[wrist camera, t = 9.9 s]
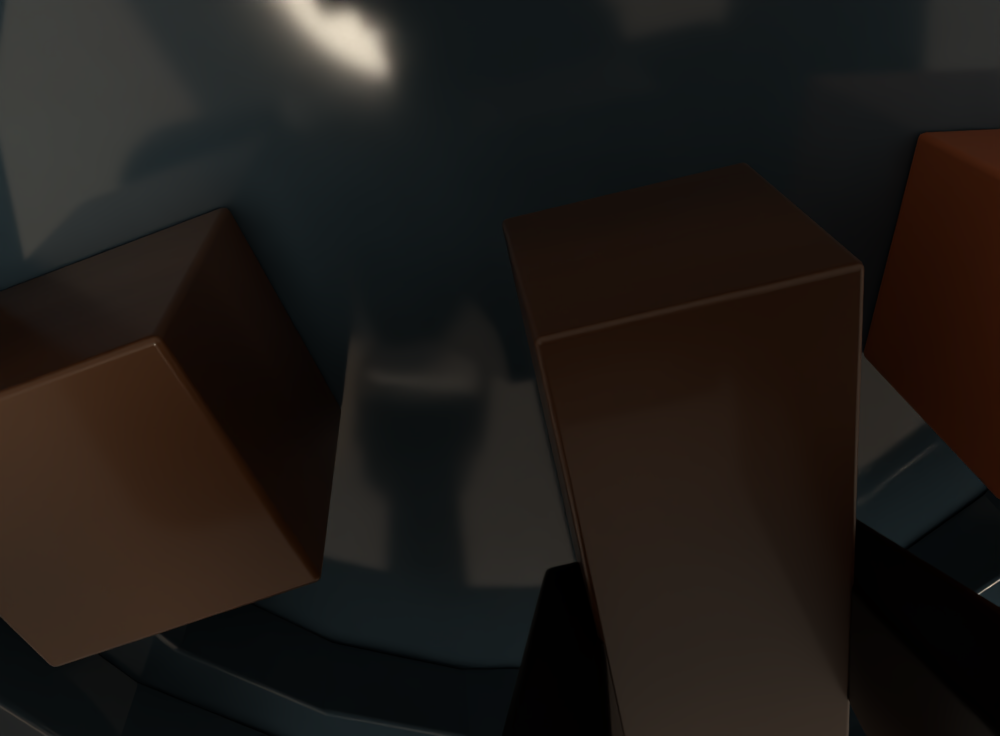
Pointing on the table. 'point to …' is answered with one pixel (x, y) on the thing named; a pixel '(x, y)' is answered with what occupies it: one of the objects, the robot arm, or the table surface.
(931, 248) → the block
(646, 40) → the bowl
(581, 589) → the robot arm
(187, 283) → the block
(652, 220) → the stick
